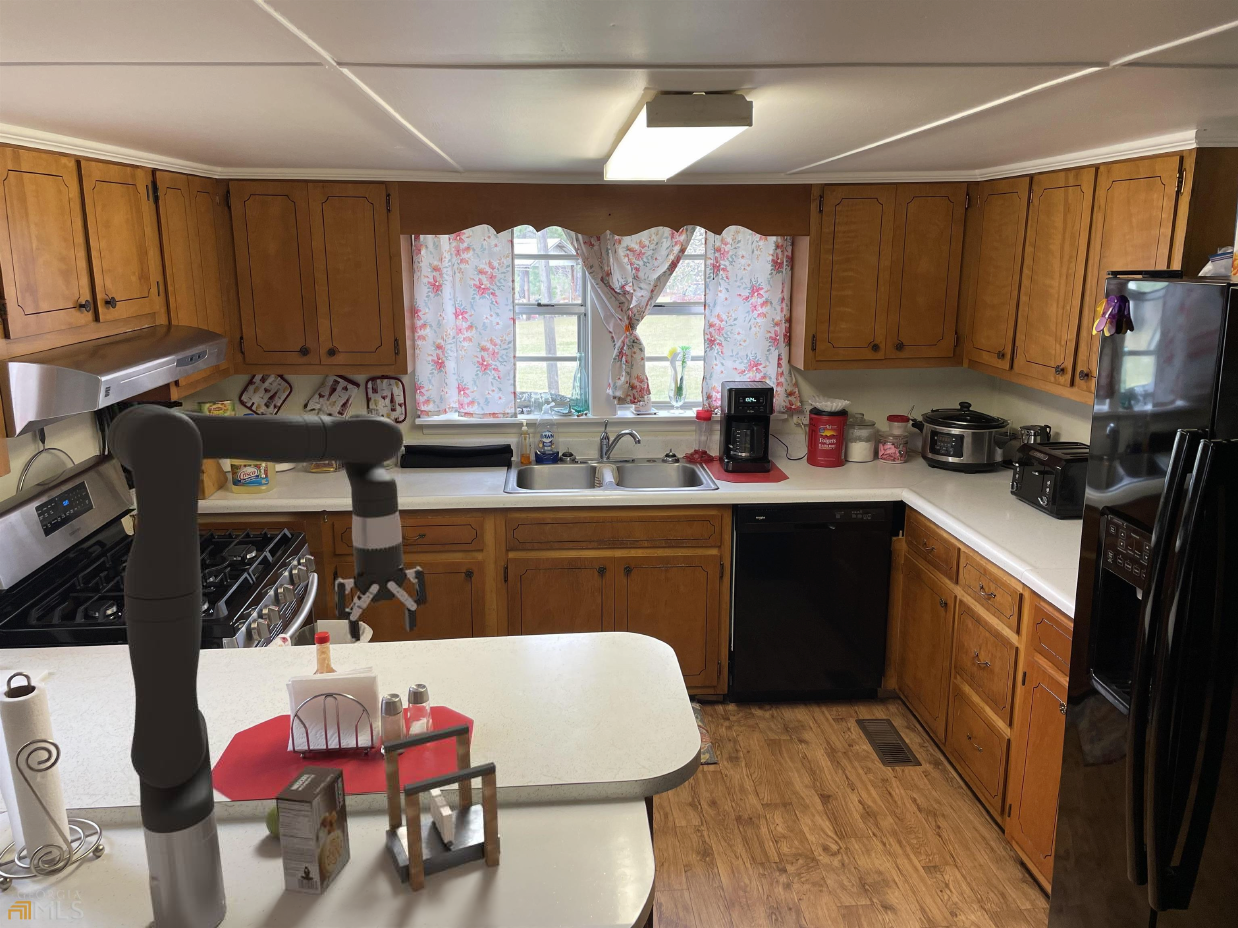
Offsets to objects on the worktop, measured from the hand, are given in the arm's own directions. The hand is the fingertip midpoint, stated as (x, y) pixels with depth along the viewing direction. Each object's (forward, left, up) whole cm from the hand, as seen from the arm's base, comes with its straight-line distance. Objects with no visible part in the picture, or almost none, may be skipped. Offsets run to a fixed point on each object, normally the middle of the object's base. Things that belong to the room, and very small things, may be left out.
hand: (383, 634), depth 146 cm
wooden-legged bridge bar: (+5, -5, -18) cm, 19 cm away
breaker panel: (+5, -11, -34) cm, 36 cm away
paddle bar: (+5, -11, -31) cm, 33 cm away
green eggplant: (-16, +3, -34) cm, 38 cm away
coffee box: (-14, -8, -34) cm, 38 cm away
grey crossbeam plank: (+5, -18, -18) cm, 26 cm away
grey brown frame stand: (+5, -11, -34) cm, 36 cm away
